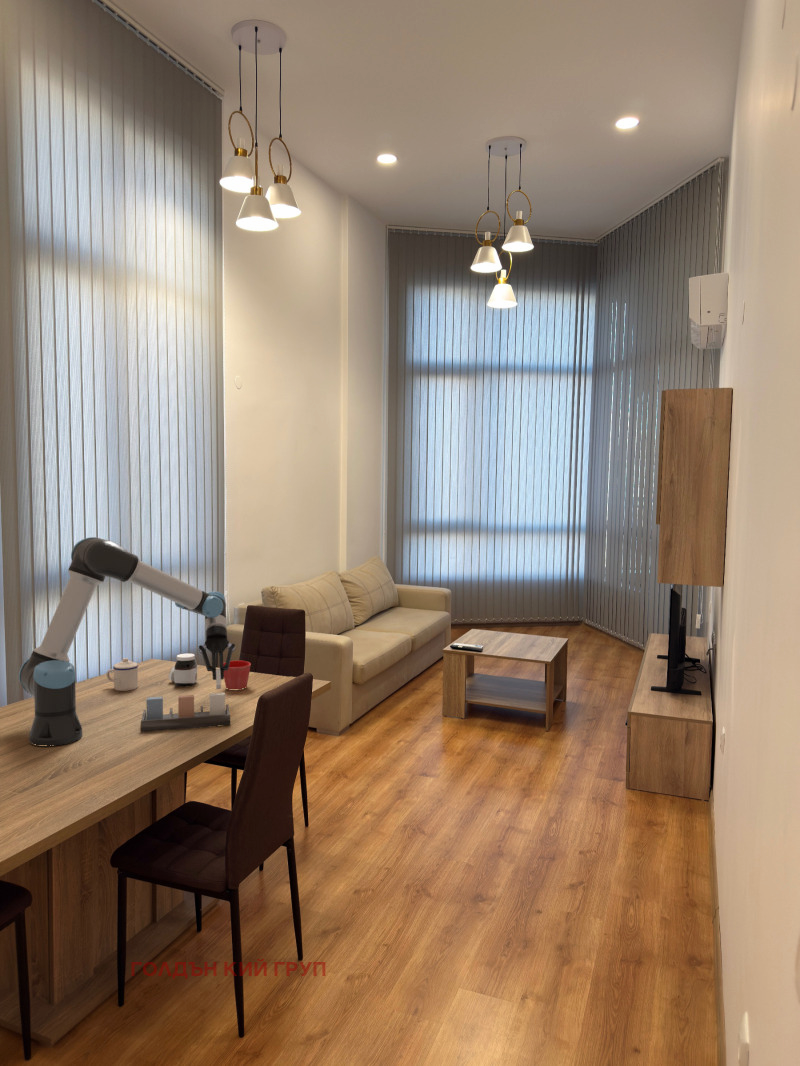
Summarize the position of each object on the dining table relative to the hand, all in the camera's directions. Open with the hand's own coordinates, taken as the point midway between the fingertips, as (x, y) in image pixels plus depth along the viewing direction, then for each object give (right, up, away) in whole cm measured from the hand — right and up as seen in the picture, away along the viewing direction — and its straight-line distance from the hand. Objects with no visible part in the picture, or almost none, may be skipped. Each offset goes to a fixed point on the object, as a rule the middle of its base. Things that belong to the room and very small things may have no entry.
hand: (218, 687), depth 260 cm
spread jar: (-23, -6, +37) cm, 44 cm away
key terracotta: (-8, -8, -10) cm, 15 cm away
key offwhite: (+1, -8, -8) cm, 11 cm away
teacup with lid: (-45, -7, +30) cm, 54 cm away
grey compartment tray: (-8, -10, -10) cm, 16 cm away
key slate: (-18, -8, -13) cm, 23 cm away
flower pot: (-1, -7, +31) cm, 32 cm away
